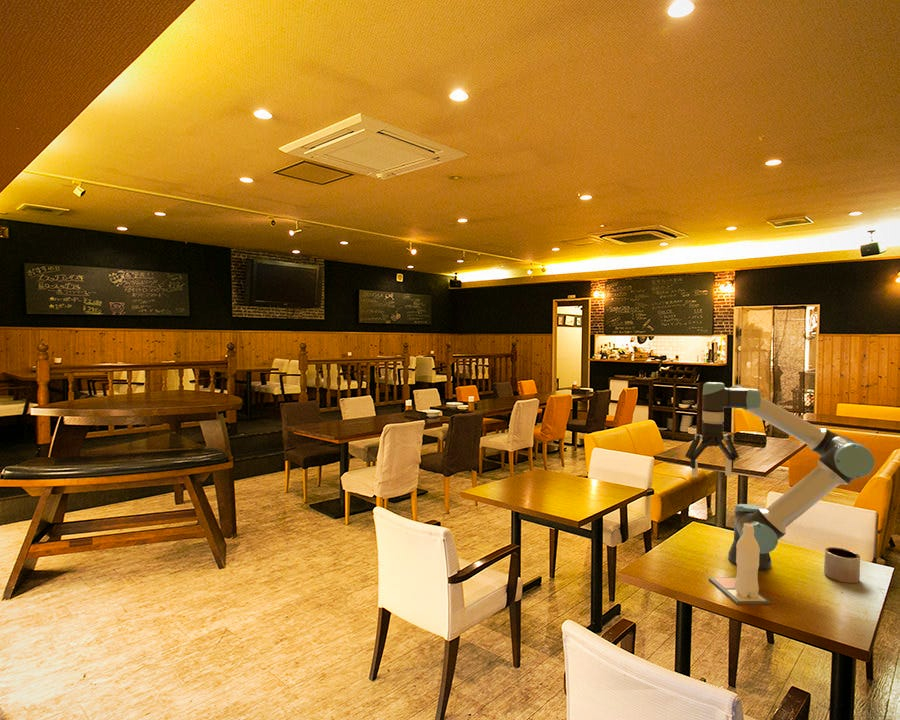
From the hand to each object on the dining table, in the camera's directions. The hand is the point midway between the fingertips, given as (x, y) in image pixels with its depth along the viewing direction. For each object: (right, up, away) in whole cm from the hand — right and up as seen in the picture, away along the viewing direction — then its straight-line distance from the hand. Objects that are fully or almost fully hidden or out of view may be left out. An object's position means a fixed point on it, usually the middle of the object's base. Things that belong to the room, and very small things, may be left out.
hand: (711, 476), depth 203 cm
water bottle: (+2, -37, -21) cm, 43 cm away
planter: (+47, -38, -5) cm, 60 cm away
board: (+1, -37, -17) cm, 41 cm away
